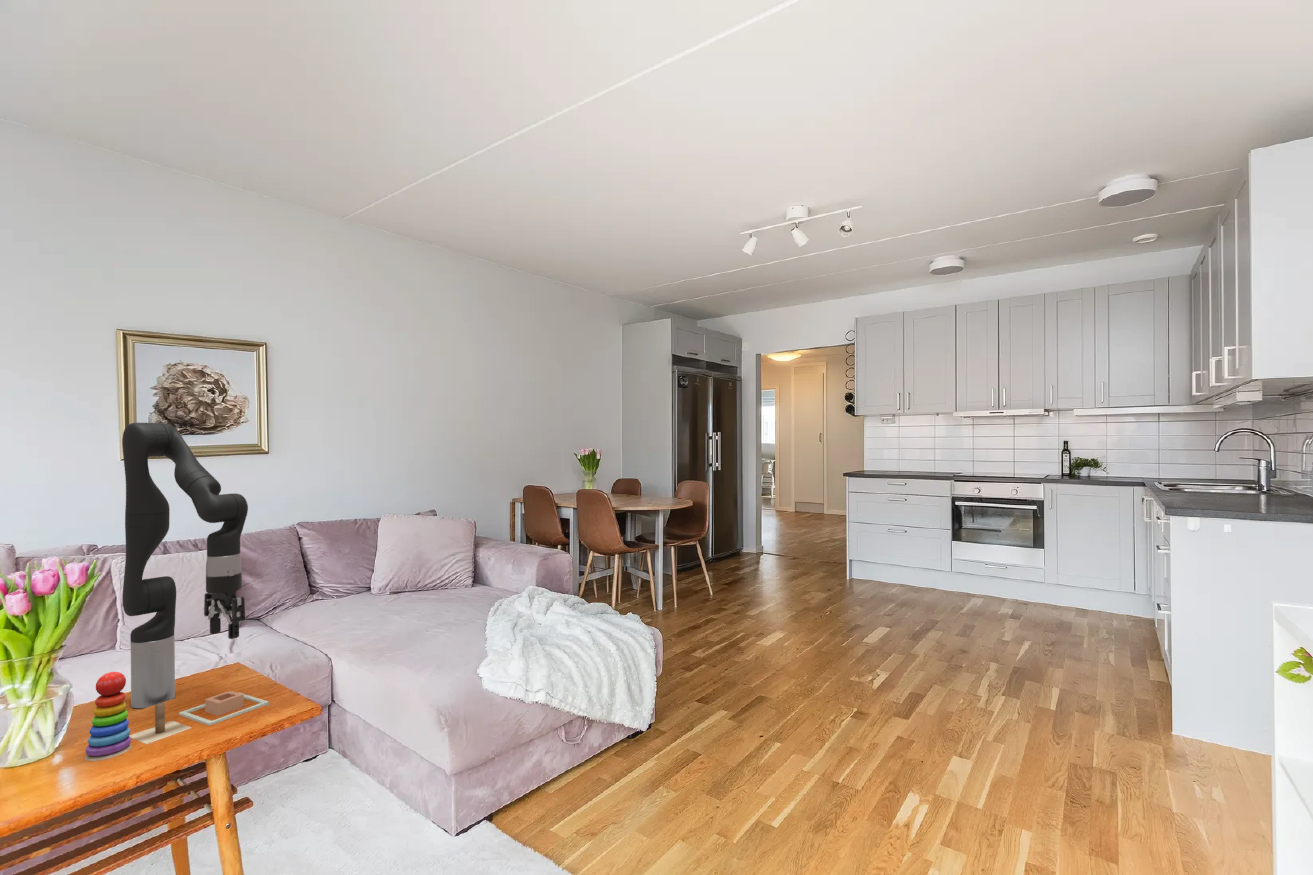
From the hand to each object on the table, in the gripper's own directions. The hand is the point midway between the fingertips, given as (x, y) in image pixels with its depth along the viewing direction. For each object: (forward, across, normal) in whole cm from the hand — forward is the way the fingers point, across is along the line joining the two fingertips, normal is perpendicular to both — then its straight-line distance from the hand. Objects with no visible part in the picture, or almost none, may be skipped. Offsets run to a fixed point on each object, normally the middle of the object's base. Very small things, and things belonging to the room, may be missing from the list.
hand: (224, 635), depth 158 cm
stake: (+20, 0, -14) cm, 25 cm away
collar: (+19, 0, 0) cm, 19 cm away
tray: (+20, 0, 0) cm, 20 cm away
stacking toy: (+20, +1, -24) cm, 32 cm away
